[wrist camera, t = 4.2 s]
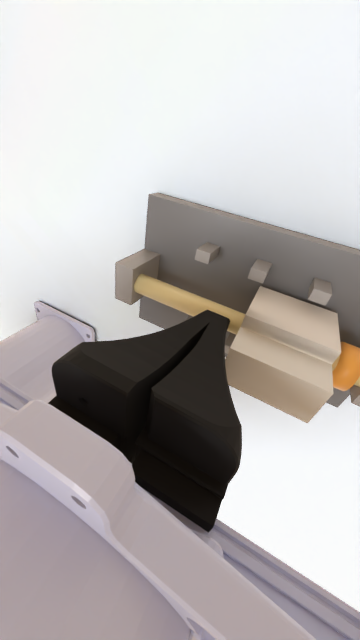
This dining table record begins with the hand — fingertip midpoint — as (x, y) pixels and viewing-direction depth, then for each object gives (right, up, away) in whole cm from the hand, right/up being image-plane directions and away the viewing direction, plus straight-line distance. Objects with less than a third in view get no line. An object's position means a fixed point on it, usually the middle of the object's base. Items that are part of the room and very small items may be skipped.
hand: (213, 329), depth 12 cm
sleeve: (+4, 0, +2) cm, 4 cm away
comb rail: (+3, +2, +3) cm, 5 cm away
